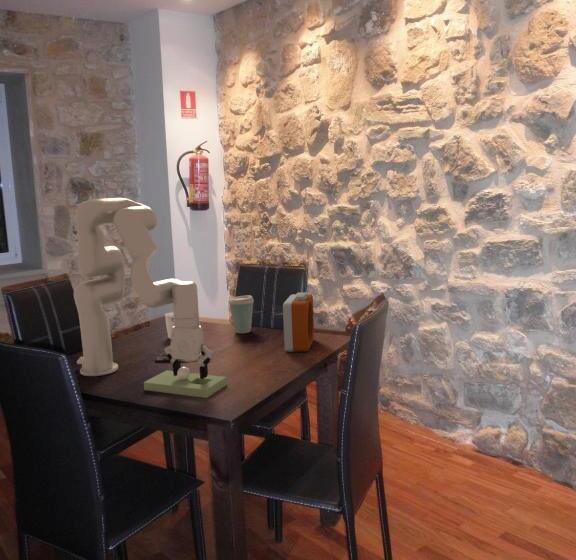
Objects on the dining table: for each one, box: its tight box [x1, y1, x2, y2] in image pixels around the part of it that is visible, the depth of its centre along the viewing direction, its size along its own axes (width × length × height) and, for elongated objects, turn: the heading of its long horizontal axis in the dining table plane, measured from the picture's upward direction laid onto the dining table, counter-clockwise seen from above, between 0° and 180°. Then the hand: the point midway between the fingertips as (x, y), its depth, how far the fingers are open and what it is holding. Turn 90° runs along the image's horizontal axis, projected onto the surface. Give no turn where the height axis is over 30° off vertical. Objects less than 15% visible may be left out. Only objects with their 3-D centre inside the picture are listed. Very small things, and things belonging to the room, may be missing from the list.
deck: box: [143, 369, 228, 399], centre depth 182 cm, size 22×12×2 cm, turn 66°
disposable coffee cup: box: [228, 295, 255, 334], centre depth 247 cm, size 11×11×15 cm
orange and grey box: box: [282, 292, 315, 353], centre depth 221 cm, size 18×9×21 cm, turn 170°
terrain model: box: [154, 346, 211, 364], centre depth 218 cm, size 20×15×3 cm
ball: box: [177, 366, 191, 380], centre depth 181 cm, size 4×4×4 cm
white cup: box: [164, 311, 174, 340], centre depth 243 cm, size 8×8×10 cm
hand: (190, 376), depth 180 cm, fingers open, 9 cm apart
